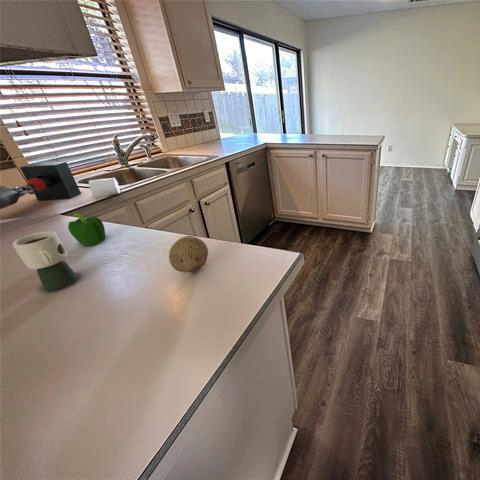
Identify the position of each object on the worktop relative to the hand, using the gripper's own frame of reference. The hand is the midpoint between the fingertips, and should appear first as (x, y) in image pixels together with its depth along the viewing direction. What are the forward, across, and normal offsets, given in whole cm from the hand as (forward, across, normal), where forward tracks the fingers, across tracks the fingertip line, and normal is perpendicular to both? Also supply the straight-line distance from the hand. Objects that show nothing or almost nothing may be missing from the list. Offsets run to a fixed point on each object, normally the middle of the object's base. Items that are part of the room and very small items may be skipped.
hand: (31, 186), depth 115 cm
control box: (+12, 0, +9) cm, 15 cm away
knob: (+5, 0, +3) cm, 6 cm away
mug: (+11, -22, +9) cm, 26 cm away
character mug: (-71, -50, +9) cm, 87 cm away
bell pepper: (-47, -45, +9) cm, 66 cm away
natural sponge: (-73, -82, +9) cm, 110 cm away
